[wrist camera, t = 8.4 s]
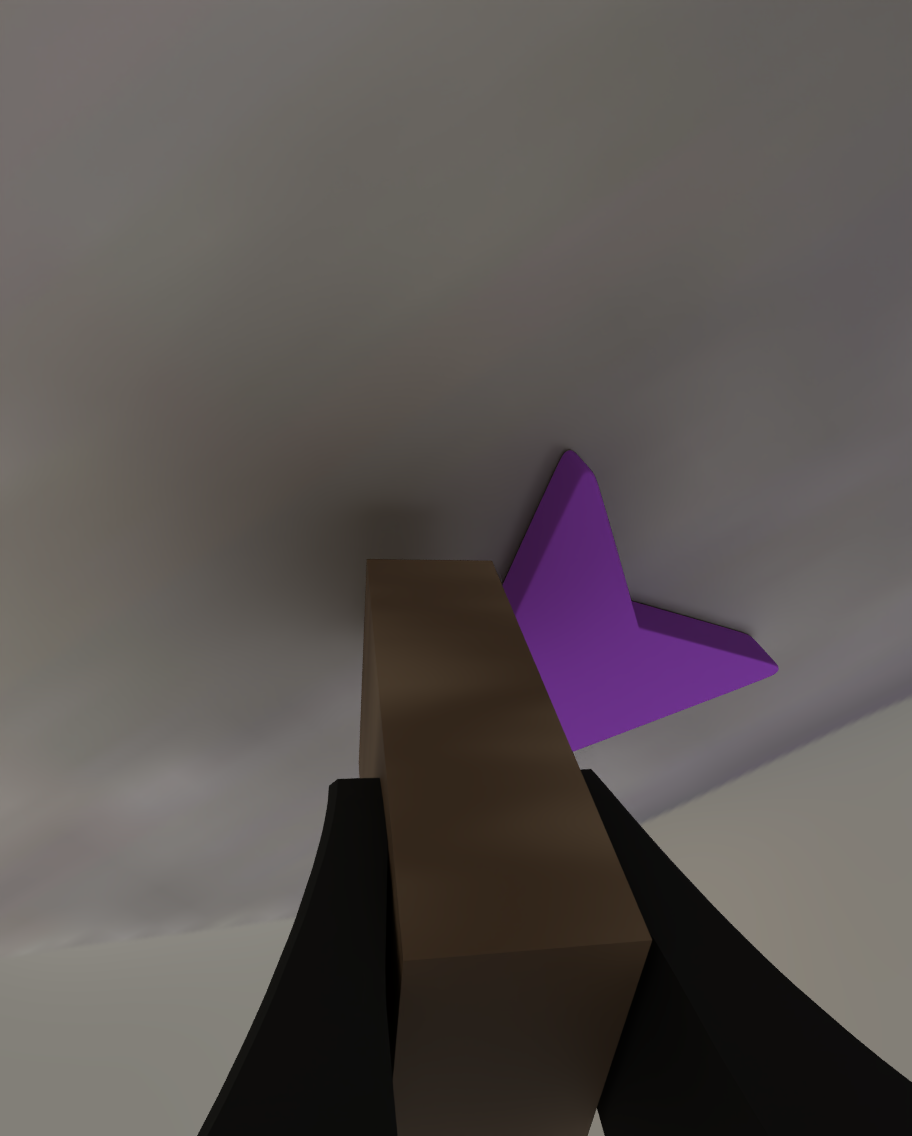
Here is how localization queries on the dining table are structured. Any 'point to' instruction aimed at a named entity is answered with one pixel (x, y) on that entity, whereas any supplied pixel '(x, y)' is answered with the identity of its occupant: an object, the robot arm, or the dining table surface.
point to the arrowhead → (610, 624)
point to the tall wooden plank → (487, 868)
